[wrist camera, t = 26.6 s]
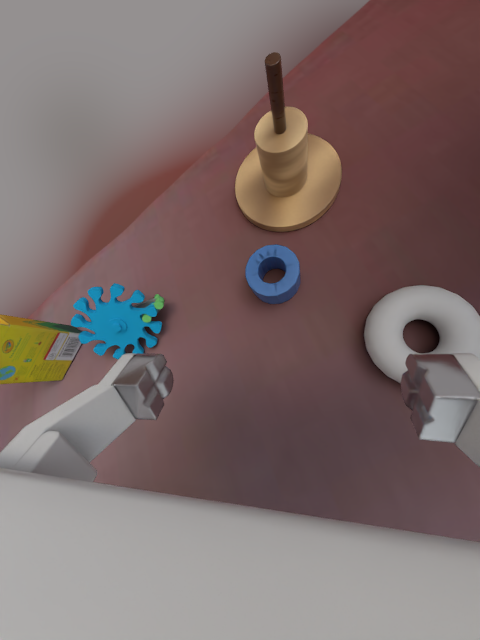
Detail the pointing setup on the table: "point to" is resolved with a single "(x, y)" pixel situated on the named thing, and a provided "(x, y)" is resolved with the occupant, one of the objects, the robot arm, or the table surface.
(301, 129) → the stand
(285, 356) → the table surface
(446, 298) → the donut
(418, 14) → the table surface
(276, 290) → the ring
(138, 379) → the robot arm
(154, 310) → the gear
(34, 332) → the crayon box
